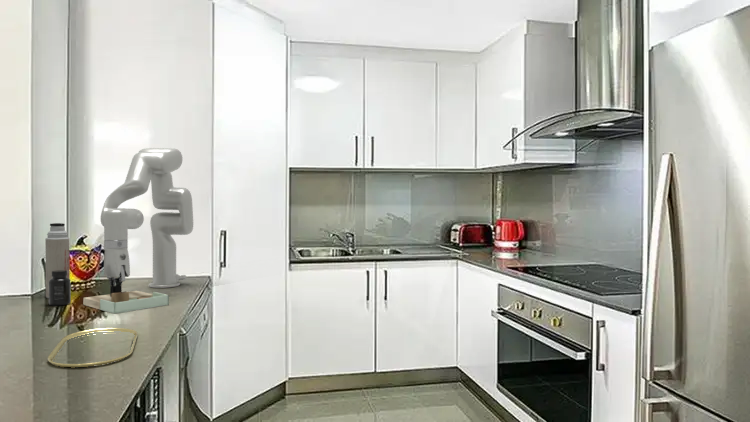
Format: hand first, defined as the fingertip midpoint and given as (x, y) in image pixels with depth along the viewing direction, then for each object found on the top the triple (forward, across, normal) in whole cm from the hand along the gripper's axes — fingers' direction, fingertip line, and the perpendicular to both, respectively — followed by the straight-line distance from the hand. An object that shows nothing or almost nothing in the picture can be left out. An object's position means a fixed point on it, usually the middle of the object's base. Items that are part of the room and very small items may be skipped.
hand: (115, 296), depth 198 cm
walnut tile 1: (+1, -7, -8) cm, 10 cm away
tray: (+4, -6, -4) cm, 8 cm away
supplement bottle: (+4, +18, +11) cm, 22 cm away
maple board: (+4, +6, -4) cm, 8 cm away
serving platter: (+4, -47, +29) cm, 55 cm away
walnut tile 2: (+1, -2, 0) cm, 2 cm away
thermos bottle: (+4, +34, +5) cm, 35 cm away
